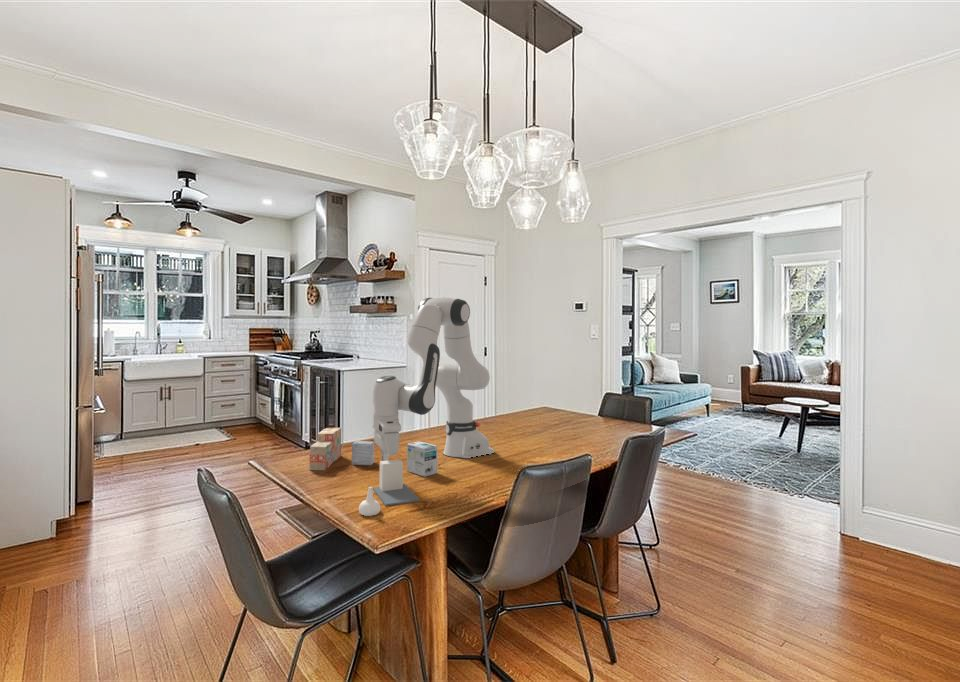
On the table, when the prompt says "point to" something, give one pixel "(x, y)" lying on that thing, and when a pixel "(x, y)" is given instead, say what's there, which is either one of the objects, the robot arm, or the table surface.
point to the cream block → (391, 475)
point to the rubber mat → (396, 496)
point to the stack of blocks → (325, 449)
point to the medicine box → (362, 453)
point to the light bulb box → (422, 458)
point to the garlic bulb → (369, 505)
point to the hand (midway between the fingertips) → (385, 461)
